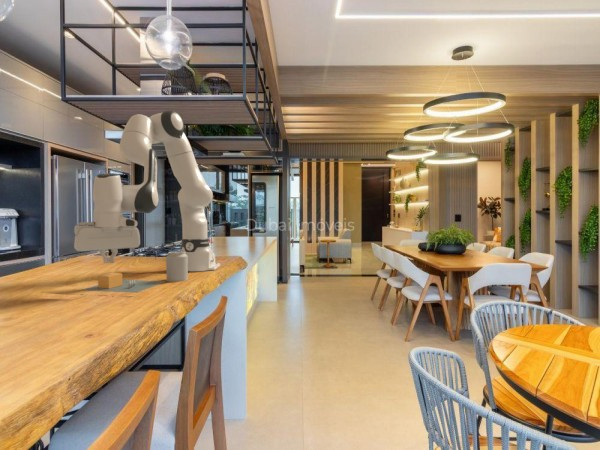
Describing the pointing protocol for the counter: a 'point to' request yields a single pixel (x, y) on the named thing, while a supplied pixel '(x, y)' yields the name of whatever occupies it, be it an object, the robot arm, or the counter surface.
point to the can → (177, 266)
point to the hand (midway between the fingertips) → (108, 262)
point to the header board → (128, 286)
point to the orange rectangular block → (109, 280)
